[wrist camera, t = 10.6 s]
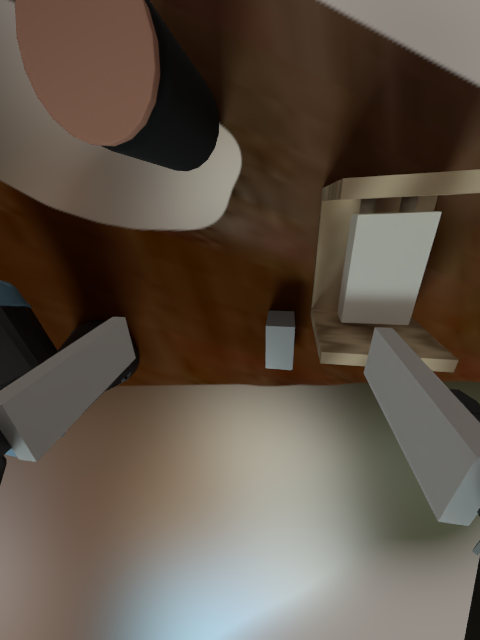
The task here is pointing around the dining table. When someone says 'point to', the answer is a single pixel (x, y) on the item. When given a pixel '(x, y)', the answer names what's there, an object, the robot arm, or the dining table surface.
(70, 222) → the dining table surface
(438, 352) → the shelf bay
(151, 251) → the dining table surface
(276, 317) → the block
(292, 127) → the dining table surface
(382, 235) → the white flat block
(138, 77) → the coffee jar
